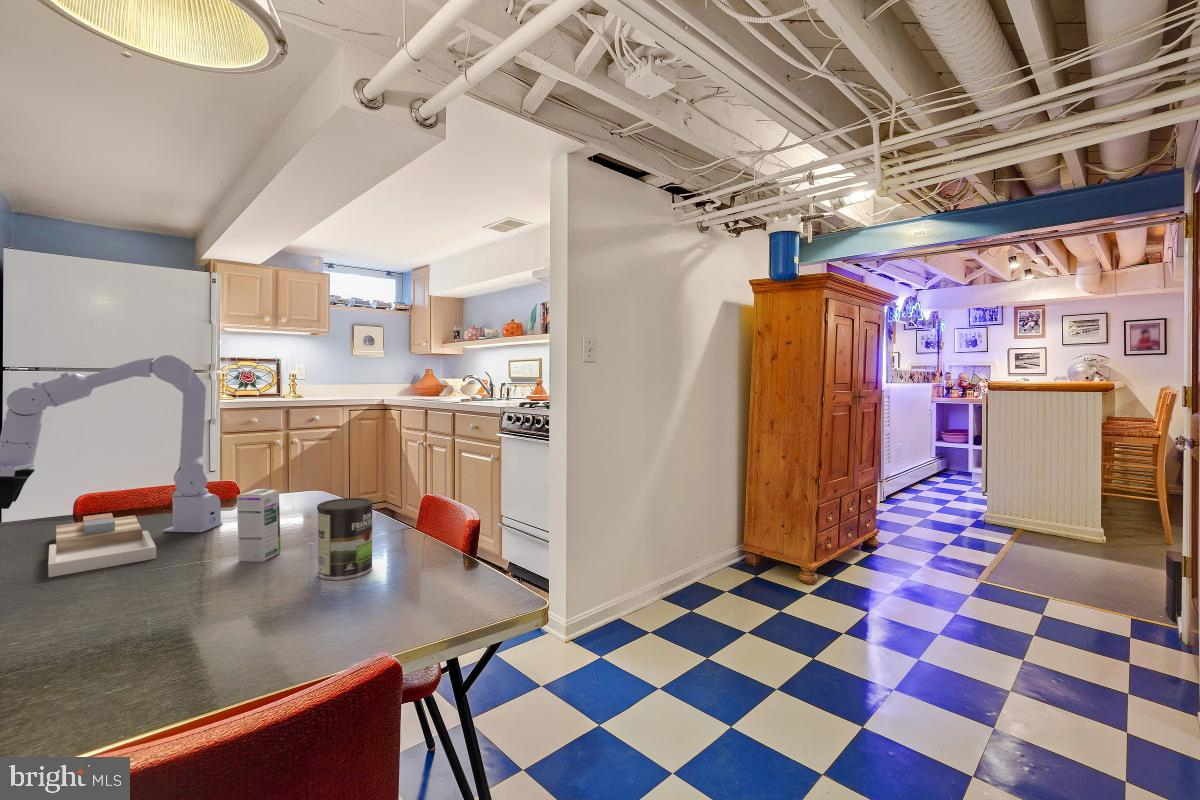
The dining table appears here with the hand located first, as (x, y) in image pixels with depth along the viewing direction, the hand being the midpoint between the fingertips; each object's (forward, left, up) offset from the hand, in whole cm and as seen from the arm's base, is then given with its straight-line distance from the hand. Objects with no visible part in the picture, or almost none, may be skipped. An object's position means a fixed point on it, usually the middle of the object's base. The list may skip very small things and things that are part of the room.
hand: (5, 504), depth 114 cm
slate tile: (-13, -8, -8) cm, 17 cm away
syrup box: (-54, 0, -11) cm, 55 cm away
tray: (-22, +1, -11) cm, 24 cm away
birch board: (-11, -10, -11) cm, 18 cm away
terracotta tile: (-9, -12, -8) cm, 16 cm away
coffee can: (-76, +7, -11) cm, 77 cm away
